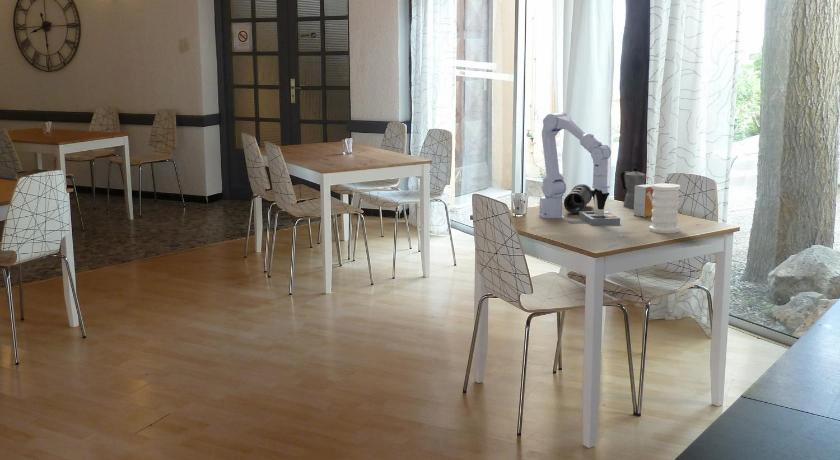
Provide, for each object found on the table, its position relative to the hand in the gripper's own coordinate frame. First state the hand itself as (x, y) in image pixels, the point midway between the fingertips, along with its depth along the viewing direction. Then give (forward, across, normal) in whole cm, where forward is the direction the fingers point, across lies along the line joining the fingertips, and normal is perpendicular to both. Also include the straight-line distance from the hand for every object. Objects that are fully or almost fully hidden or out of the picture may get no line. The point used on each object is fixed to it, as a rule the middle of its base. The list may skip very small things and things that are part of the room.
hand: (599, 208), depth 382 cm
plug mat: (+6, +2, +8) cm, 11 cm away
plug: (+2, 0, 0) cm, 2 cm away
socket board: (+6, +4, -2) cm, 8 cm away
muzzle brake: (+7, +32, 0) cm, 33 cm away
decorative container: (+7, -16, -22) cm, 28 cm away
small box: (+7, +16, -26) cm, 31 cm away
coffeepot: (+7, +40, -28) cm, 49 cm away
